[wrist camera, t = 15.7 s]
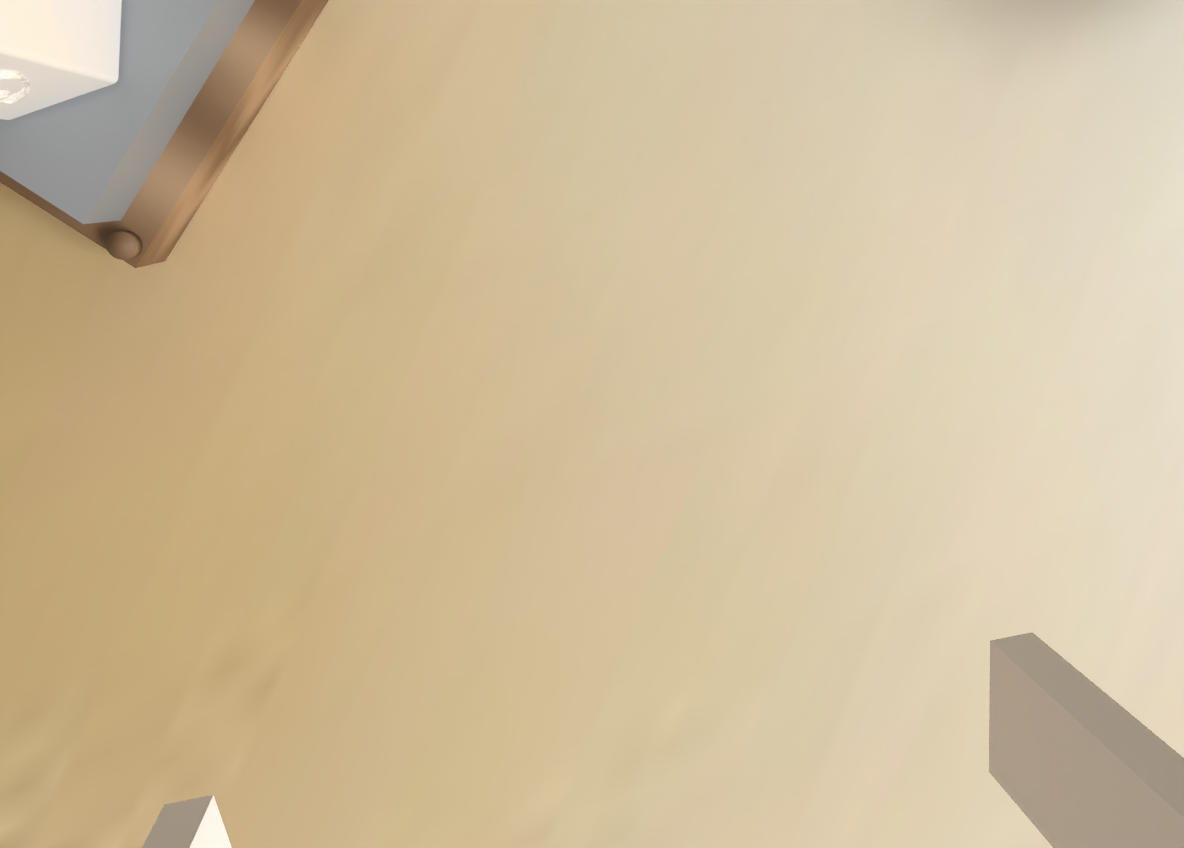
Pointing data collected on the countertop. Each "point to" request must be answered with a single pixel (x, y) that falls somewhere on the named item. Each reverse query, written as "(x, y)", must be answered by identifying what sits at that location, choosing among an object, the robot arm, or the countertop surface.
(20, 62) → the jar
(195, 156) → the walnut base brick
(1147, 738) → the robot arm
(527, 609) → the countertop surface
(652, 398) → the countertop surface
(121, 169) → the grey top brick
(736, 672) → the countertop surface
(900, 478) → the countertop surface
